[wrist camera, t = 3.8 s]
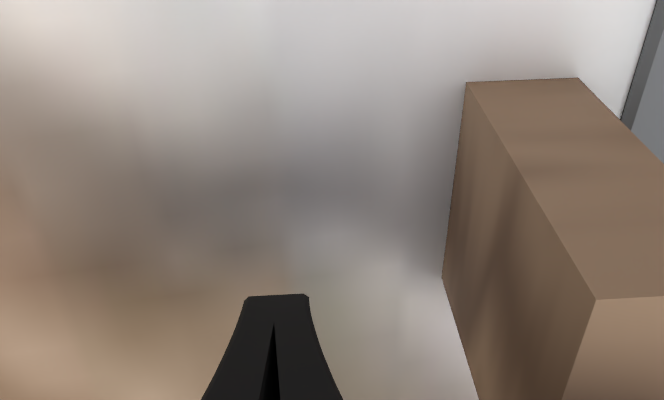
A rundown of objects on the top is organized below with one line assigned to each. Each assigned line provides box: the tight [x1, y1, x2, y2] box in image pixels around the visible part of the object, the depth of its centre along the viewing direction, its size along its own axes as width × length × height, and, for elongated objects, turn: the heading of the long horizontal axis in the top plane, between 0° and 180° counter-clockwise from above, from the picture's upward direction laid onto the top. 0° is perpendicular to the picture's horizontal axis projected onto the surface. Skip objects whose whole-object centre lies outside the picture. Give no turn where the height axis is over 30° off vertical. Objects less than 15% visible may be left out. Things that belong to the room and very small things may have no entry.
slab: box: [442, 78, 664, 400], centre depth 14 cm, size 7×3×8 cm, turn 1°
